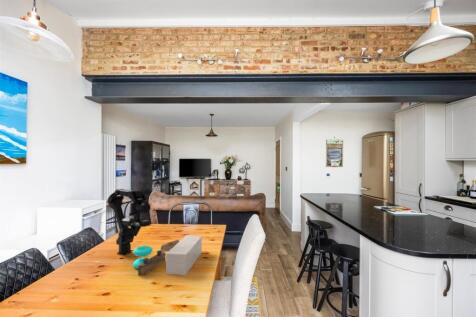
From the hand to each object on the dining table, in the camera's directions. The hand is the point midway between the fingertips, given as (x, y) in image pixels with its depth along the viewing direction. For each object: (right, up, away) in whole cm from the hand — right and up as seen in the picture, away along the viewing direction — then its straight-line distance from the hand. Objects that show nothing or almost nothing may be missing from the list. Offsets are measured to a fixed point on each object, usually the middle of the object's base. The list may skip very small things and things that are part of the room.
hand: (135, 235), depth 150 cm
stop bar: (+16, -13, -15) cm, 25 cm away
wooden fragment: (+16, -14, +22) cm, 30 cm away
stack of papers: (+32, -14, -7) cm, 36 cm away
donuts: (+10, -13, -13) cm, 21 cm away
